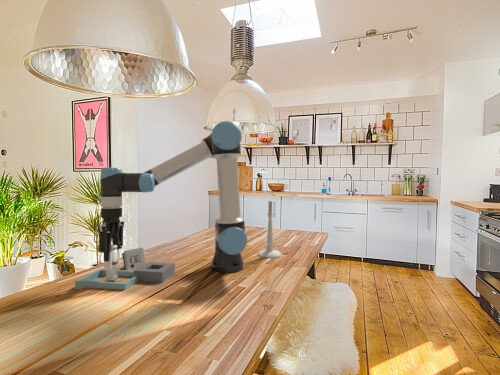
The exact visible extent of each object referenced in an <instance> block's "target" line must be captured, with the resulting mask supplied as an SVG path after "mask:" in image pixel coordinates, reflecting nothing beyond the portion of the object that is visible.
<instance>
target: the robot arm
mask: <svg viewBox="0 0 500 375" xmlns="http://www.w3.org/2000/svg"><path fill="white" fill-rule="evenodd" d="M241 143H242V131H241V129H240V127H239V126H238V125H237V124H236V123H234V122H232V121H229V120H228V121H227V120H226V121H221V122H219V123H216V125H215V126H214V127H213V129H212V131H211V133H210V134H209V135H208V136H206V137H204V138H203V139H201V141H200V143H198V144H196V145H193V146H192V147H190V148H189V149H187V150H184V151H182V152H180V153H179V154H177V155H175V156H173V157H171V158H170V159H168V160H165V161H164V162H162V163H160V164H158V165H156V166H154V167H152V168H150V169H148V170H146V171H144V172H141V173H140V172H123V169H122V168H121V167H103V168H101V169H100V179H99V183H100V207H101V208H100V218H101V219H103V221H102V224H101V225H99V226H97V231H98V251H99V252H100V253H103V269H109V270H111V269H112V252H110V249H111V245H117V267H118V266H120V249H123V246H124V226H125V222H124V221H121V220H120V218H122V217H123V207H122V206H123V193H152V192H154V190H155V187H157V186H159V185H160V184H162V183H163V182H166V181H168V180H170V179H171V178H173V177H176V176H177V175H179V174H181V173H183V172H185V171H186V170H189V169H190V168H192V167H194V166H196V165H197V164H200V163H201V162H203V161H206V160H207V159H215V160H216V170H217V186H218V187H217V189H218V190H217V191H218V205H219V217H218V218H217V219H216V220H215V222H214V227H215V228H214V230H215V231H214V232H215V233H214V235H215V236H214V238H215V240H214V254H213V257H212V259H211V262H210V263H211V264H210V266H211V270H212V271H214V272H219V273H233V272H234V273H235V272H239V271H241V270H243V269H244V268H245V267H244V266H245V264H244V260H243V256H242V253H241V252H243V251H244V250H245V249H246V246H247V244H248V234H247V233H246V224H245V218H243V217H242V216H241V205H240V204H241V202H240V201H241V200H240V184H239V182H240V181H239V166H238V165H239V164H238V160H239V157H241V155H242V152H241Z"/></svg>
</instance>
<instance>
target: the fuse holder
mask: <svg viewBox="0 0 500 375" xmlns="http://www.w3.org/2000/svg"><path fill="white" fill-rule="evenodd" d="M133 271H134V277H135V276H138V282H145V283H146V282H147V283H160V284H161V283H165V282H166V280H168V279H169V278H170V277H172V276H173V275H174V274H176V263H175V262H174V263H173V262H172V263H171V262H157V261H156V262H155V261H154V262H153V261H148V262H146V264H144V265H143V266H141V267H137V268H135V269H134V270H133Z"/></svg>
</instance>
